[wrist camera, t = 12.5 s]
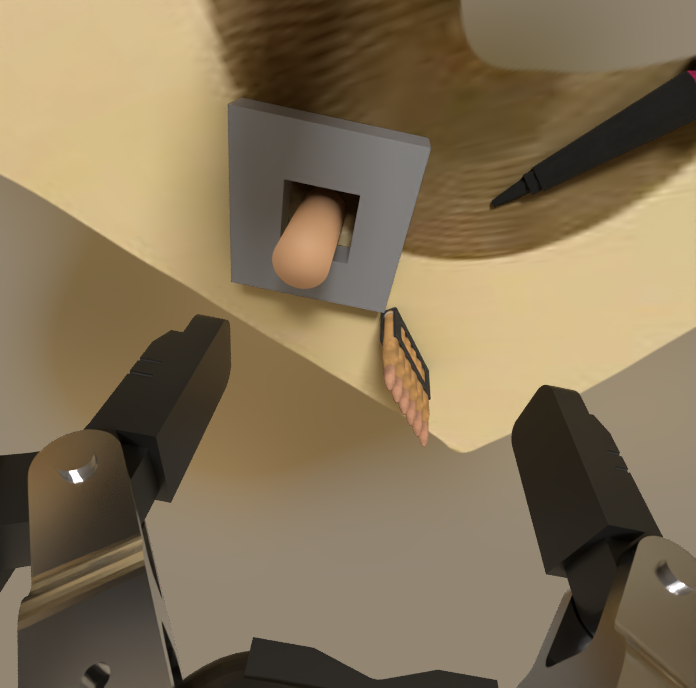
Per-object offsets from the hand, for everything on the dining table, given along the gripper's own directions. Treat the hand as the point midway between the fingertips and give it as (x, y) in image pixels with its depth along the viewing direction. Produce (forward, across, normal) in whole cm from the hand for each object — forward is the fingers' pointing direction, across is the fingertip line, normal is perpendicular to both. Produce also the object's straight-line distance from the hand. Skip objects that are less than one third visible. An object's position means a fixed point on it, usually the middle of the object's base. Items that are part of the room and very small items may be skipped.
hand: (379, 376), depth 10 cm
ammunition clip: (+30, -7, +22) cm, 38 cm away
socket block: (+30, +5, +8) cm, 32 cm away
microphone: (+31, -17, -4) cm, 35 cm away
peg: (+30, +5, +8) cm, 32 cm away
